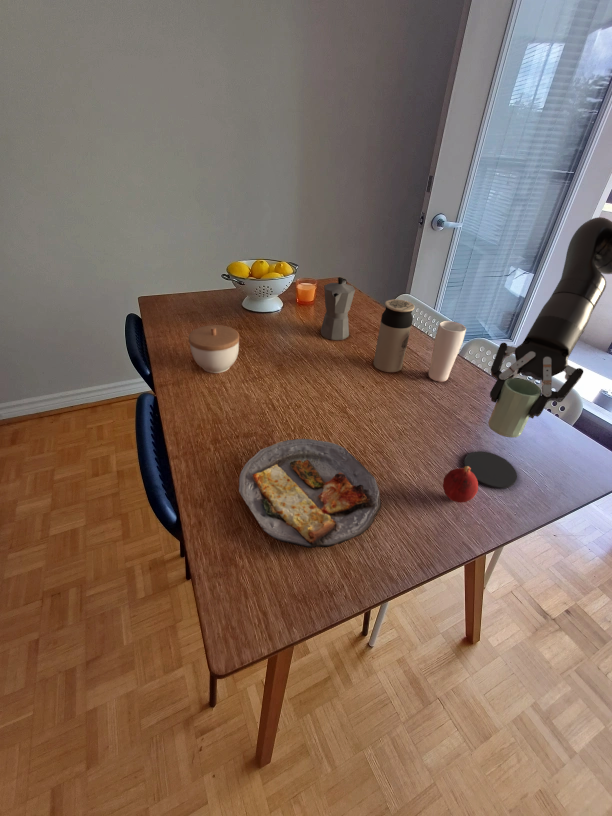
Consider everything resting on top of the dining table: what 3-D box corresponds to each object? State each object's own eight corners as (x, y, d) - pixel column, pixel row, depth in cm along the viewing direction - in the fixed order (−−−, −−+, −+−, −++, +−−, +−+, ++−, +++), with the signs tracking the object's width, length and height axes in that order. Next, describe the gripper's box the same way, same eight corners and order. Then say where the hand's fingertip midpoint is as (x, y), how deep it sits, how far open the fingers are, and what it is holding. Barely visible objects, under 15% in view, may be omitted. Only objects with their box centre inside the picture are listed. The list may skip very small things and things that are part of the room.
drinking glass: (453, 384, 105) (470, 332, 97) (428, 383, 105) (443, 331, 96) (446, 371, 111) (462, 321, 102) (422, 370, 111) (435, 319, 102)
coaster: (498, 451, 84) (499, 449, 84) (526, 486, 76) (527, 484, 76) (454, 454, 83) (455, 453, 82) (479, 490, 75) (480, 489, 74)
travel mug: (367, 364, 112) (377, 302, 101) (385, 356, 116) (397, 296, 106) (389, 376, 107) (402, 313, 97) (407, 367, 112) (422, 306, 101)
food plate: (404, 515, 69) (409, 502, 67) (289, 580, 58) (290, 566, 56) (322, 434, 85) (324, 421, 83) (221, 473, 75) (219, 459, 72)
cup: (509, 417, 76) (527, 377, 71) (528, 436, 72) (548, 395, 66) (482, 418, 75) (498, 378, 70) (499, 438, 71) (517, 397, 65)
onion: (470, 516, 70) (485, 484, 65) (437, 506, 71) (448, 474, 66) (471, 492, 74) (485, 461, 69) (439, 483, 76) (451, 452, 71)
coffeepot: (345, 345, 120) (352, 286, 110) (315, 340, 122) (319, 282, 112) (353, 325, 133) (361, 271, 122) (326, 321, 134) (331, 267, 124)
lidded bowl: (245, 375, 103) (243, 336, 97) (195, 381, 99) (190, 341, 93) (235, 352, 113) (233, 316, 106) (189, 358, 109) (184, 320, 102)
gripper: (517, 303, 70) (470, 385, 70) (610, 329, 63) (558, 421, 62) (516, 323, 77) (473, 398, 76) (600, 349, 69) (553, 432, 69)
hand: (511, 408), depth 69 cm, fingers closed on cup, 6 cm apart
